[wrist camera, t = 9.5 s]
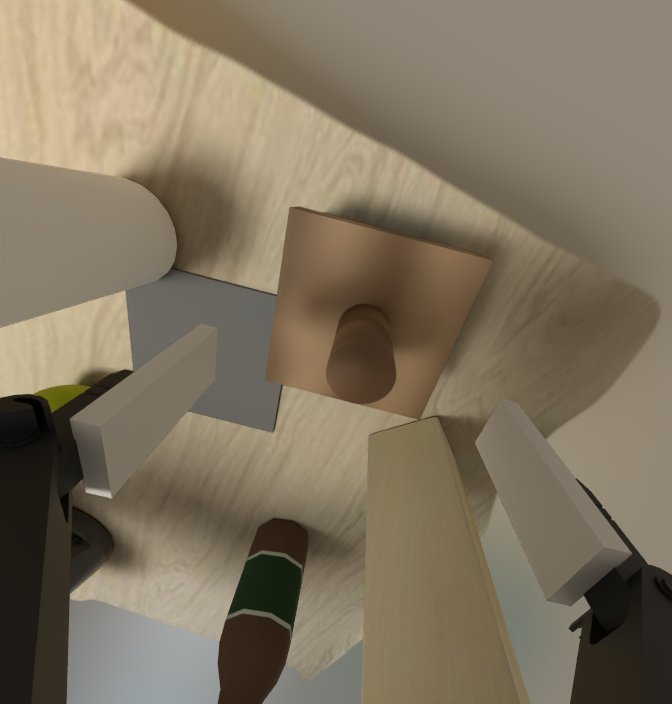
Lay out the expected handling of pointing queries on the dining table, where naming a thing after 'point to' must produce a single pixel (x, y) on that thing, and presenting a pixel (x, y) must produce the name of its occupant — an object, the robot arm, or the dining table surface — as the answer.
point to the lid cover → (368, 311)
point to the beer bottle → (262, 614)
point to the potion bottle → (75, 238)
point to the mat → (232, 340)
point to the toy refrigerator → (428, 582)
